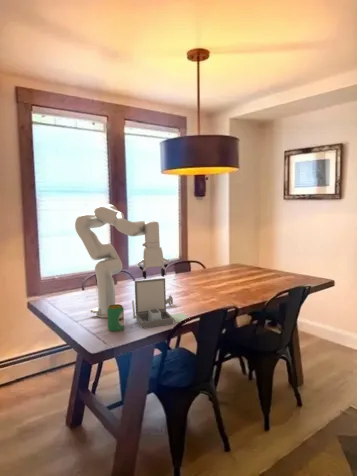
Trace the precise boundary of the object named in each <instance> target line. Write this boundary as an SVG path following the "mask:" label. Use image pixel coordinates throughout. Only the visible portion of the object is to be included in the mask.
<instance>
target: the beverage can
mask: <svg viewBox="0 0 357 476" xmlns="http://www.w3.org/2000/svg"><path fill="white" fill-rule="evenodd" d="M124 310H125V309H124V306H123V304H119V303H118V304H117V303H115V304H114V305H110V306H109V307H108V309H107V311H108V318H107V327H108V330H109V331H110V332H112V331H114V332H117V333H118V332H121V331H124V329H125V317H124V316H125V315H124V314H125V313H124V312H125V311H124ZM114 332H113V333H114Z"/></svg>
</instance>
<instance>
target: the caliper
mask: <svg viewBox="0 0 357 476" xmlns="http://www.w3.org/2000/svg"><path fill="white" fill-rule="evenodd" d="M167 304H168V305H169V306H171V305H173V304H174V299H173V296H172V295H171V294H170V295H168V297H166V305H167Z"/></svg>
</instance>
